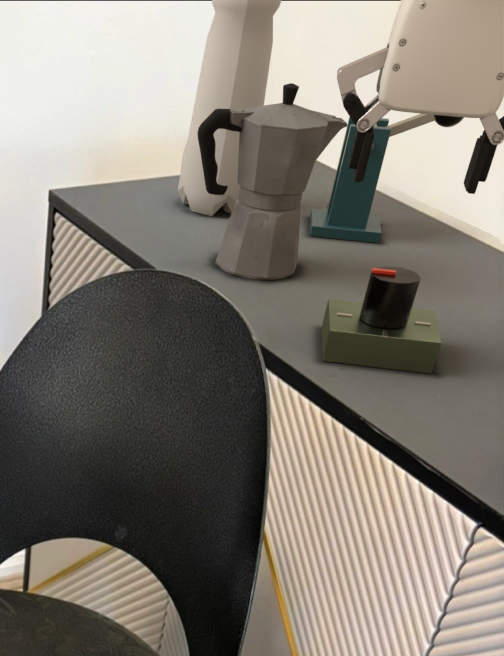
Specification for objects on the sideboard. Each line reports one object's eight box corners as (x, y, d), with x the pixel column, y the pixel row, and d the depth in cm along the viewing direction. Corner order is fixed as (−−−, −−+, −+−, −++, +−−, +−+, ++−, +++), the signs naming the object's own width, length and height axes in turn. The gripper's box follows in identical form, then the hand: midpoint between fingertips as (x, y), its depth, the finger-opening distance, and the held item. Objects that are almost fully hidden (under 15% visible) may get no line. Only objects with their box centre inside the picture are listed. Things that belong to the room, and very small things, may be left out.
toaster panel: (424, 339, 109) (434, 307, 107) (431, 375, 103) (442, 342, 101) (321, 327, 111) (328, 296, 109) (322, 362, 105) (330, 329, 103)
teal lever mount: (376, 224, 136) (404, 118, 128) (379, 243, 131) (408, 133, 123) (309, 218, 137) (333, 111, 129) (309, 236, 132) (334, 126, 124)
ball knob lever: (468, 115, 125) (463, 81, 123) (471, 123, 122) (467, 89, 120) (355, 156, 130) (349, 124, 128) (356, 164, 127) (350, 132, 125)
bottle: (260, 217, 137) (318, -82, 117) (191, 220, 135) (238, -83, 115) (231, 194, 143) (281, -92, 123) (165, 197, 142) (205, -93, 122)
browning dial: (405, 313, 106) (419, 265, 103) (408, 331, 103) (423, 282, 100) (358, 308, 107) (371, 260, 104) (360, 325, 104) (373, 277, 101)
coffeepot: (302, 251, 128) (341, 74, 116) (326, 281, 121) (370, 96, 109) (169, 250, 127) (196, 71, 115) (186, 280, 120) (215, 93, 108)
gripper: (584, -45, 89) (508, 182, 101) (364, -61, 92) (314, 162, 103) (602, -32, 84) (519, 206, 95) (367, -49, 87) (314, 185, 98)
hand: (412, 183), depth 99 cm, fingers open, 9 cm apart
